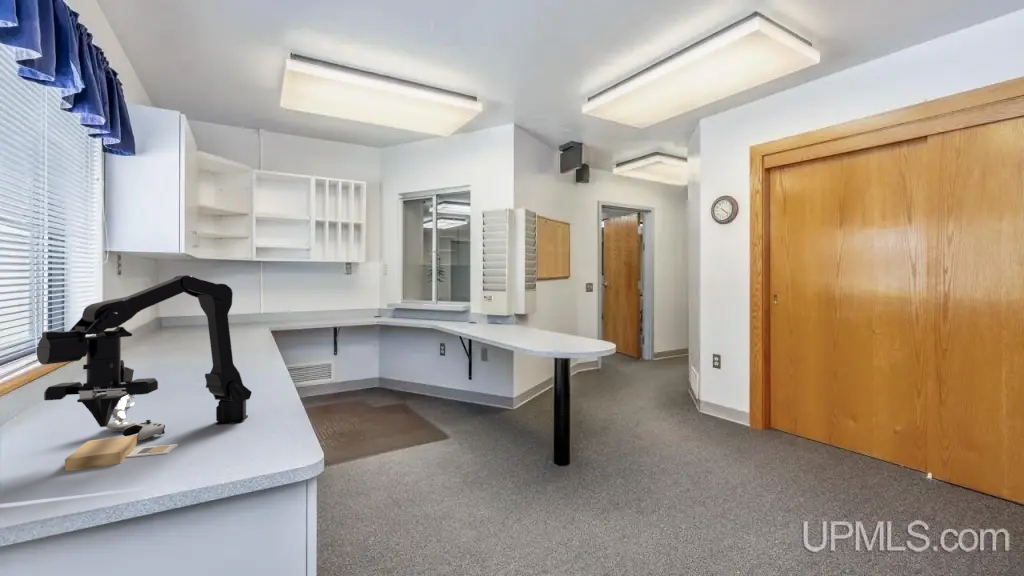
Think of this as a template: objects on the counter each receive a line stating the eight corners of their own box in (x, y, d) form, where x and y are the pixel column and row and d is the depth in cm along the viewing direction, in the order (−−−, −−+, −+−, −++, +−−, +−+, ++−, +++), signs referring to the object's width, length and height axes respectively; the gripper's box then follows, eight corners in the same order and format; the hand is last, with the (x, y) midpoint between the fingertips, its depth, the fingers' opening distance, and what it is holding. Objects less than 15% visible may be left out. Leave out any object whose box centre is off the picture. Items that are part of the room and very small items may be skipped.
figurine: (140, 430, 121) (140, 386, 121) (110, 437, 115) (110, 390, 115) (125, 425, 125) (125, 382, 125) (95, 431, 120) (96, 387, 120)
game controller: (118, 432, 114) (139, 412, 118) (135, 444, 117) (155, 424, 121) (136, 437, 109) (158, 416, 113) (154, 449, 112) (174, 428, 116)
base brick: (136, 447, 109) (136, 434, 109) (120, 465, 97) (120, 451, 98) (88, 453, 105) (87, 440, 105) (64, 473, 93) (64, 459, 93)
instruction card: (178, 445, 109) (178, 443, 109) (167, 453, 103) (167, 451, 103) (138, 448, 106) (138, 447, 106) (125, 457, 101) (125, 455, 101)
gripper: (167, 351, 112) (167, 413, 112) (75, 355, 106) (74, 420, 106) (146, 357, 101) (146, 426, 101) (42, 362, 96) (42, 434, 95)
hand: (103, 426), depth 101 cm, fingers closed
